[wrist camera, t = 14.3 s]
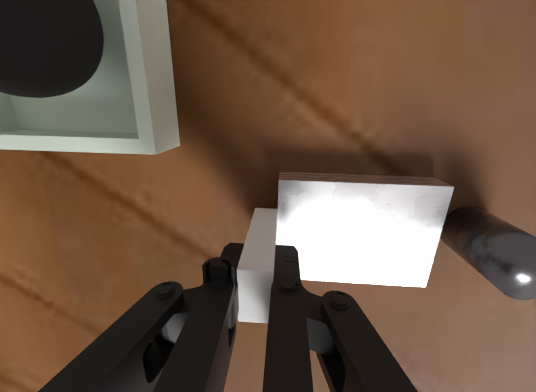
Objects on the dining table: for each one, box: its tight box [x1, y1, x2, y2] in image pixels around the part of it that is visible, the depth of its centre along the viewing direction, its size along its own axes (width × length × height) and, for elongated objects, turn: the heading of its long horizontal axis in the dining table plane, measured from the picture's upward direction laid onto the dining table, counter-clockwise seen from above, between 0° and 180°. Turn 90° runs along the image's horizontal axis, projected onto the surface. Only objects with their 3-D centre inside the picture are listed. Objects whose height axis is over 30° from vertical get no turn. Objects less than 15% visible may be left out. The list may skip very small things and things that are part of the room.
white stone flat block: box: [276, 172, 454, 287], centre depth 17 cm, size 10×7×2 cm
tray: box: [0, 0, 180, 155], centre depth 13 cm, size 11×11×3 cm
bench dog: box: [441, 207, 536, 300], centre depth 15 cm, size 3×3×5 cm
